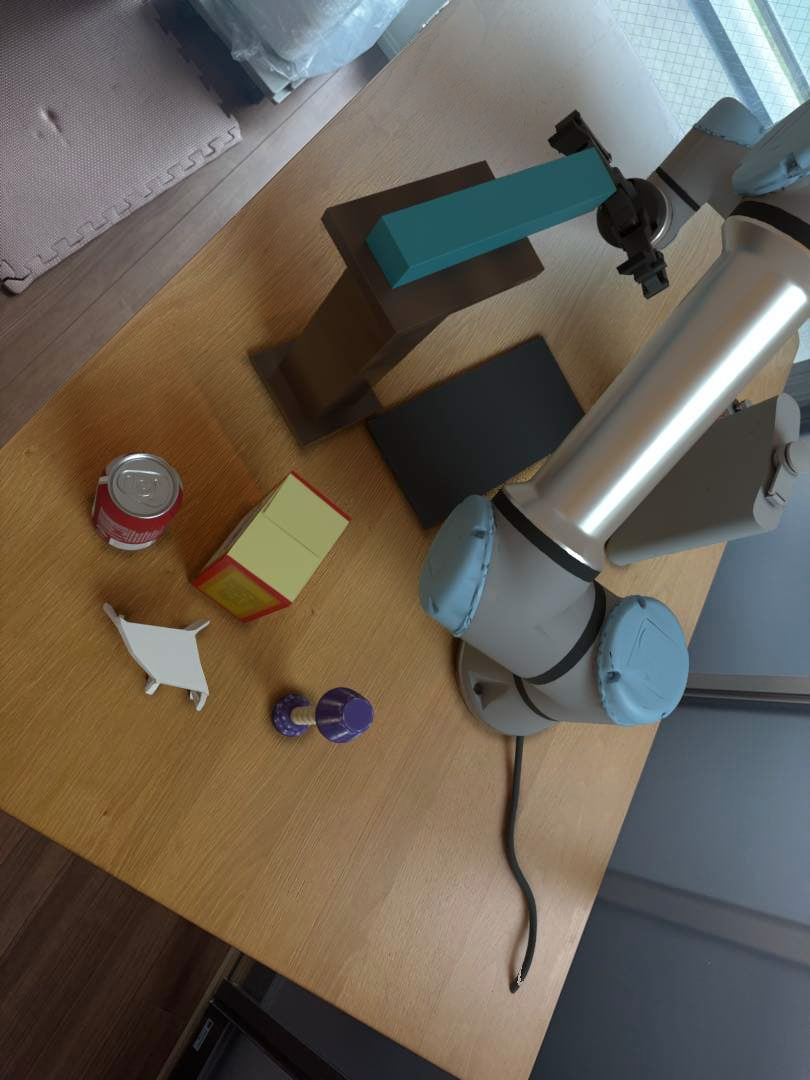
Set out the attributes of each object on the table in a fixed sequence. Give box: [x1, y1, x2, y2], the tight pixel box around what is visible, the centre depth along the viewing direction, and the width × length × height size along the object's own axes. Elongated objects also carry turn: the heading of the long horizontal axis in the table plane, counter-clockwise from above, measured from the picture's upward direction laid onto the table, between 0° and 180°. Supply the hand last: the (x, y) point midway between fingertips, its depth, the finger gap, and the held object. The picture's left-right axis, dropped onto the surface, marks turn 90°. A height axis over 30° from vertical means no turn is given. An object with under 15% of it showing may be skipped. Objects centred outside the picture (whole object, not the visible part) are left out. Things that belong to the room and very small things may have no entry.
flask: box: [605, 392, 810, 567], centre depth 88 cm, size 17×5×25 cm, turn 156°
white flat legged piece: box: [102, 602, 211, 712], centre depth 66 cm, size 12×8×5 cm
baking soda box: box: [190, 469, 353, 625], centre depth 67 cm, size 10×6×16 cm
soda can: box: [91, 451, 184, 552], centre depth 65 cm, size 7×7×12 cm
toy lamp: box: [270, 686, 375, 744], centre depth 66 cm, size 5×5×17 cm
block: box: [365, 147, 617, 289], centre depth 56 cm, size 23×4×3 cm, turn 123°
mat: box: [364, 335, 586, 531], centre depth 90 cm, size 30×14×1 cm, turn 123°
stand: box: [249, 159, 546, 450], centre depth 68 cm, size 16×11×30 cm
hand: (596, 198), depth 68 cm, fingers open, 13 cm apart
